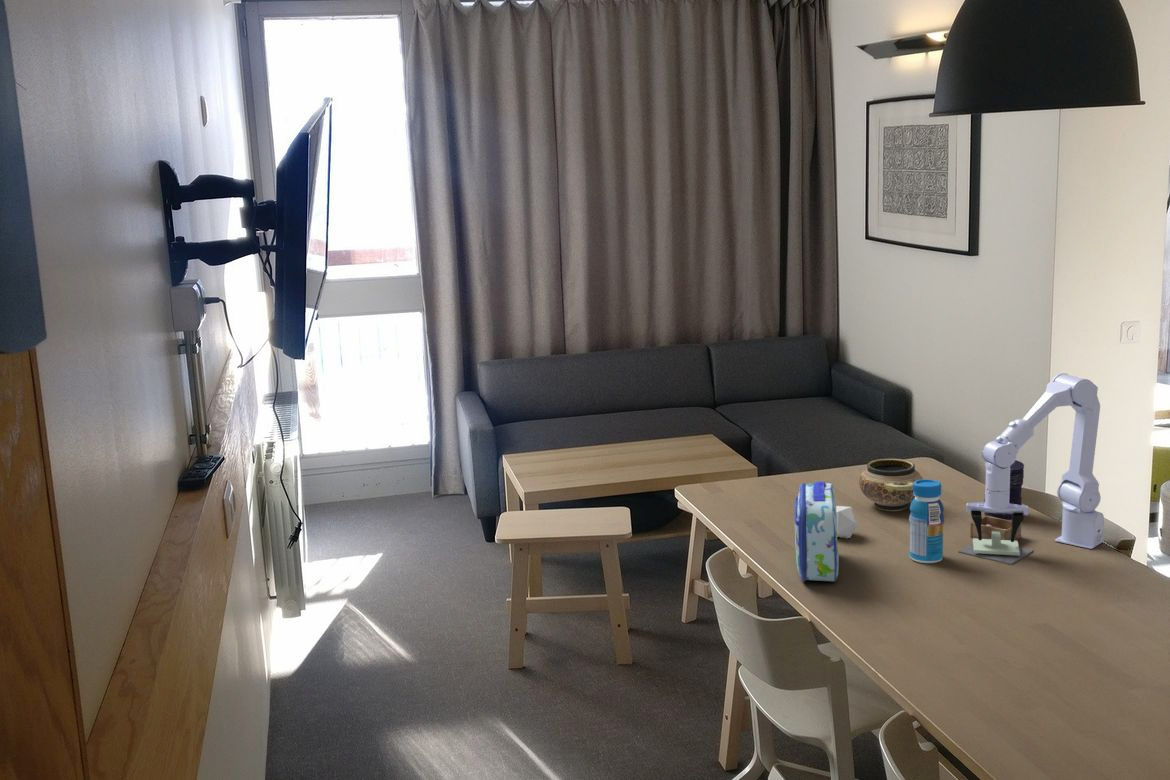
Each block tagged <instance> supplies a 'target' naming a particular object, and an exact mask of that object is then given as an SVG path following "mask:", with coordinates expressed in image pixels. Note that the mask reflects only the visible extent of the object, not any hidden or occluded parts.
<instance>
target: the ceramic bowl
mask: <svg viewBox="0 0 1170 780" xmlns="http://www.w3.org/2000/svg"><path fill="white" fill-rule="evenodd" d="M915 466H916V465H915V463H914V462H913V461H912V460H911V461H910V460H908V459H903V458H878V459H873V460H871V461H868V462H867V464H866V469H865V470H863V471H862V472H861V474H860V475H859V478H858V486H859V488H860V491H861V493H862V494H863V495H864V496H865V497H866V499H868V500H870V501H871V502H872V503H873V506H874V508H876V509H878V510H880V511H884V510H885V511H886V512H900V511H904V510H906V509H907V508H908V504H909V503H912V501H913V499H914V498H915V496H914V494H913V483H914V482H915V481H917V480H922V479H924V478H923V476H922V475H921V473H920V472H919V471H918V470H917V469H916V468H915Z"/></svg>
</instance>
